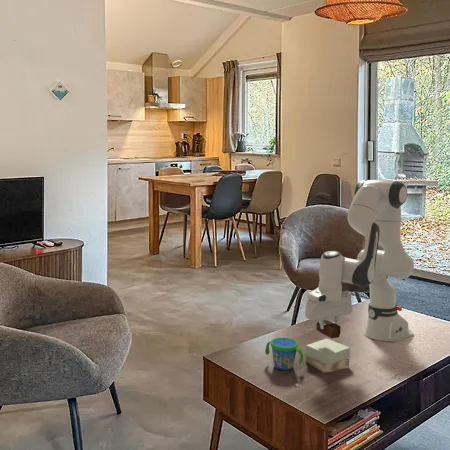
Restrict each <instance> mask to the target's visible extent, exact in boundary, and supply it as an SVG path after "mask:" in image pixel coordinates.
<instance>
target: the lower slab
mask: <svg viewBox="0 0 450 450" xmlns="http://www.w3.org/2000/svg"><path fill="white" fill-rule="evenodd" d="M305 362H306V363H307V364H309V365H310V366H312V367H313V368H315V369H316V370H318V371H320V373H321V372H322V374H325V373H326V374H327V373H330V372H331V373H332V372H335V371H340V370H344V369H348V368H350V359H349V358H346V359H344V360H341V361H338V362H336V363H333V364H331V365H328V364H326V363H323V362H321V361H319V360H316V359H314V358H312V357H310V356H307V355H306V354H305Z"/></svg>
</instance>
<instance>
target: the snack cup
mask: <svg viewBox="0 0 450 450" xmlns="http://www.w3.org/2000/svg"><path fill="white" fill-rule="evenodd" d="M270 347H271V351H272V361H273V366H274V368H275V369H278V370H282V371H284V372H285V371H289V370H292V369H293V367H294V365H295V361H296V355H297V352H298V355H299V361H298V362H299V363H298V364H299V365H301V364H302V363H303V361H304V354H303V350H302V348H301V347H300V346H299V342H298V341H297V340H295V339H293V338H289V337H276V338H273V339H272V340H269V341H268V342H267V343H266V345H265V355H267V356H269V354H270V353H271V351H270Z"/></svg>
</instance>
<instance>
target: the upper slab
mask: <svg viewBox="0 0 450 450" xmlns="http://www.w3.org/2000/svg"><path fill="white" fill-rule="evenodd" d="M306 355H307V356H310V357H312V358H314V359H316V360H319V361H321V362H323V363H326V364H328V365H331V364H333V363H336V362H338V361H341V360H344V359H346V358H348V359H349V358H350V355H351V347H349V346H347V345H345V344H343V343H339V342H336V341H335V340H332V339H329V338H324V339H321V340H318V341H315V342H312V343H309V344H306V345H305V356H306Z"/></svg>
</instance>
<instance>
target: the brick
mask: <svg viewBox="0 0 450 450" xmlns="http://www.w3.org/2000/svg"><path fill="white" fill-rule="evenodd" d="M332 322H333V321H331V320H327V319H324V321H323V323H324V324H326V329H321V328H320V323H319V321H318V320H317V322H316V324H315V326H316V327H315V329H316V331H317V332H319V333H320V334H322V335H324V336H327V337H328V338H330V339H336V338H340V335H341V326H340V325H338V323H337V324H335V323H332Z"/></svg>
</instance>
